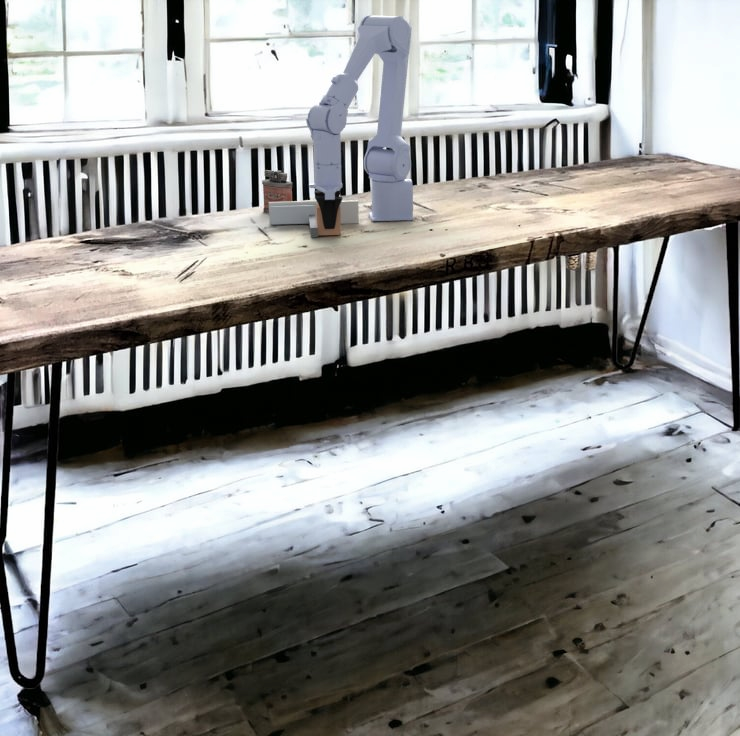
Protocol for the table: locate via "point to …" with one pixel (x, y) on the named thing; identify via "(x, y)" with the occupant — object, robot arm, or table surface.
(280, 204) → the white thin slab
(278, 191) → the lighter
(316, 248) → the table surface
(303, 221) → the sliding door
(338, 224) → the block
